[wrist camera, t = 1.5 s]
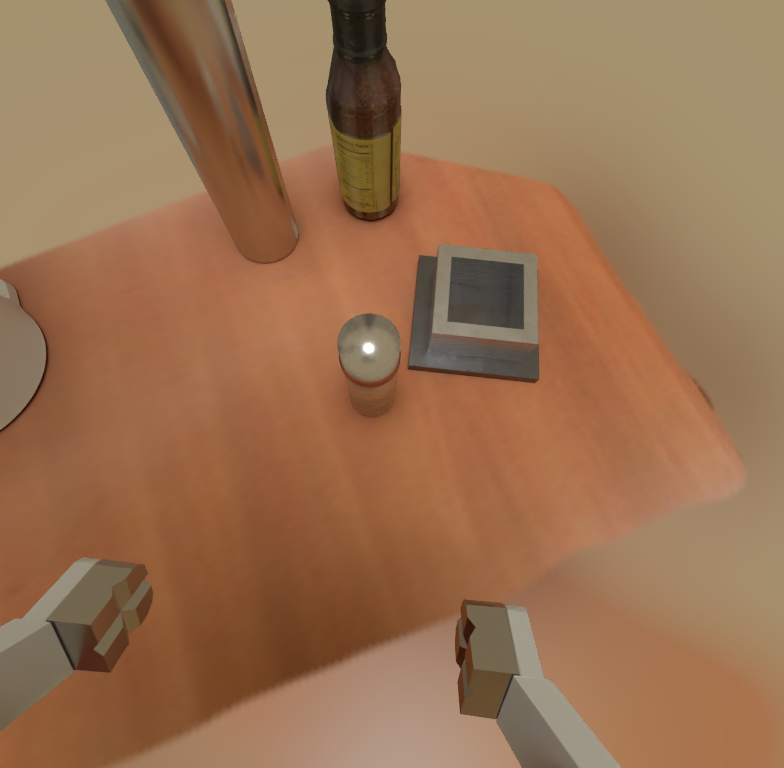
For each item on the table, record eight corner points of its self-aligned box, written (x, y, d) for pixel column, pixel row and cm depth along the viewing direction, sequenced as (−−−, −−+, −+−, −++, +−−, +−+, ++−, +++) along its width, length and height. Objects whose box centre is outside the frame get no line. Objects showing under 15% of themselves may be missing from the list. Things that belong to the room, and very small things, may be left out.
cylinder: (346, 415, 36) (331, 369, 25) (353, 372, 37) (340, 309, 26) (392, 420, 36) (398, 376, 25) (397, 377, 37) (404, 315, 26)
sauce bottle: (370, 169, 45) (364, -81, 26) (410, 201, 44) (433, -37, 25) (327, 201, 43) (287, -40, 25) (367, 235, 42) (356, 9, 23)
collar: (408, 369, 38) (412, 347, 33) (418, 261, 41) (423, 228, 37) (535, 382, 37) (557, 363, 33) (533, 273, 41) (553, 241, 37)
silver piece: (256, 203, 43) (104, -179, 19) (309, 225, 42) (219, -144, 19) (223, 249, 41) (10, -114, 17) (278, 272, 40) (135, -72, 17)
